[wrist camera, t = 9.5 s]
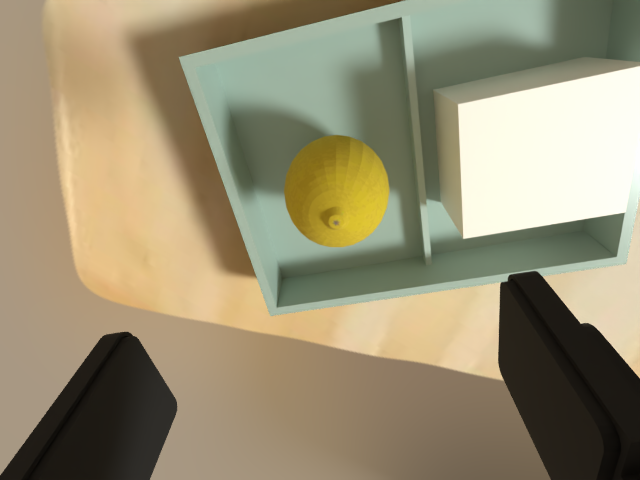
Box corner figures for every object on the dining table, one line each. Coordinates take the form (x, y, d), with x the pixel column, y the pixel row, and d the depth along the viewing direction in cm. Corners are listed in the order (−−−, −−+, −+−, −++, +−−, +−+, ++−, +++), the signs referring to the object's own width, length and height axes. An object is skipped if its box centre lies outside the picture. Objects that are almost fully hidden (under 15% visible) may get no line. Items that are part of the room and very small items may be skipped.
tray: (204, 53, 21) (178, 57, 18) (625, -52, 18) (693, -72, 15) (278, 281, 29) (270, 316, 25) (586, 232, 26) (626, 264, 22)
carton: (433, 89, 21) (457, 104, 17) (584, 56, 20) (653, 63, 16) (440, 202, 25) (463, 238, 20) (571, 178, 23) (625, 212, 19)
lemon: (275, 173, 24) (250, 230, 17) (330, 101, 22) (327, 133, 15) (342, 223, 25) (344, 294, 18) (399, 160, 23) (426, 214, 16)
